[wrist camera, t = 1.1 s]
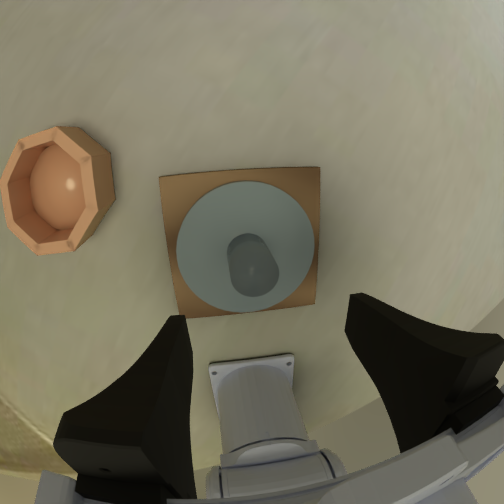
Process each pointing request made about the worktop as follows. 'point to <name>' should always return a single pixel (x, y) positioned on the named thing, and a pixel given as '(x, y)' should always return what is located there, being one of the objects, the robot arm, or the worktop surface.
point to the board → (197, 184)
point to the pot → (56, 189)
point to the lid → (245, 246)
